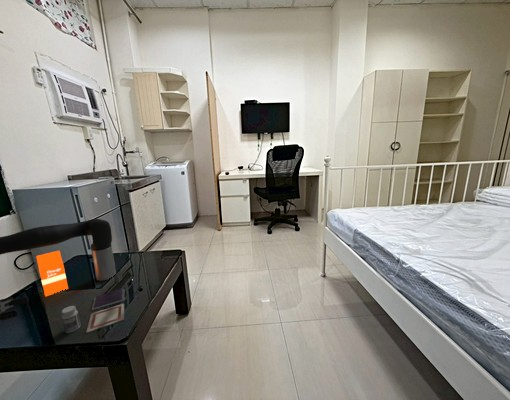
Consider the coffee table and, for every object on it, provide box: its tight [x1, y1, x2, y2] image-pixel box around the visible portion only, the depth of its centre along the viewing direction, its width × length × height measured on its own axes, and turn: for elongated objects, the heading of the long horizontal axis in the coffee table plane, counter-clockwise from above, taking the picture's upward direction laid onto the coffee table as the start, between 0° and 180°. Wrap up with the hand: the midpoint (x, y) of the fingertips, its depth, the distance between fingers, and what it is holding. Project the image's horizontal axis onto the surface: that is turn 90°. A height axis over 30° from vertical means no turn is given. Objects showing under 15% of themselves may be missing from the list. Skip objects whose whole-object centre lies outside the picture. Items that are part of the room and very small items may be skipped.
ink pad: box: [91, 288, 125, 311], centre depth 100 cm, size 12×10×2 cm
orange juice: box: [36, 250, 69, 297], centre depth 109 cm, size 8×9×20 cm
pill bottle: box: [61, 305, 81, 334], centre depth 82 cm, size 5×5×8 cm
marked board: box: [85, 303, 125, 334], centre depth 88 cm, size 12×12×1 cm
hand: (22, 305), depth 75 cm, fingers open, 8 cm apart
